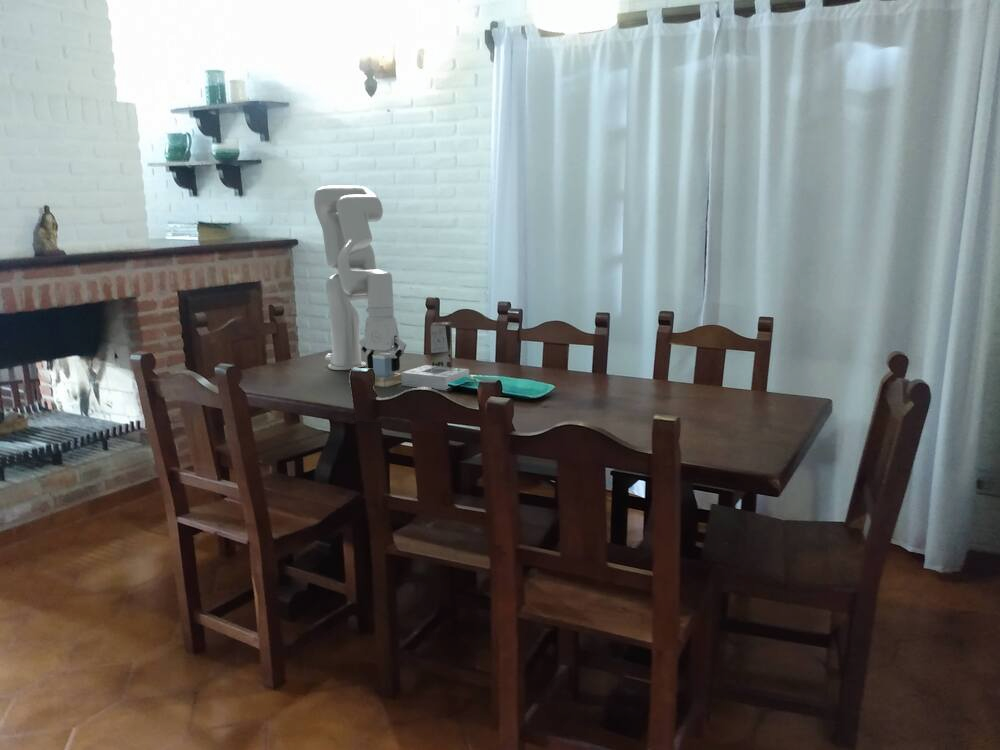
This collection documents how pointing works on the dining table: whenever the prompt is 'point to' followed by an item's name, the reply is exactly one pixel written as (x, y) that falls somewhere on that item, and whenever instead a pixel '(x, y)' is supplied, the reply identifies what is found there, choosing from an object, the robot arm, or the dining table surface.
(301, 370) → the dining table surface
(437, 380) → the port
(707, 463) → the dining table surface
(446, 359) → the coffee box
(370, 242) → the robot arm
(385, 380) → the wooden square frame
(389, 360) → the plug
